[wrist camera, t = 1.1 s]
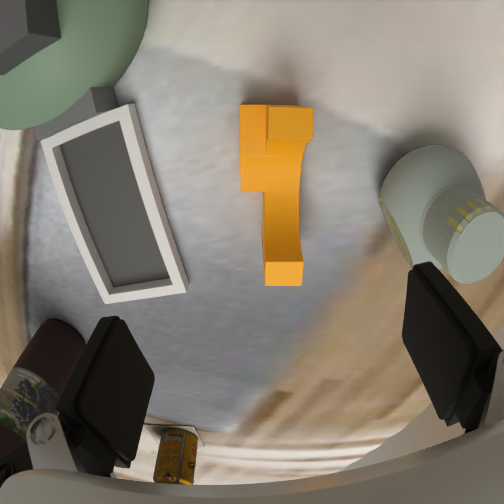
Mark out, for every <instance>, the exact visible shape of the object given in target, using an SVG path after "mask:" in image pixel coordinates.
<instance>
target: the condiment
mask: <svg viewBox="0 0 504 504" xmlns="http://www.w3.org/2000/svg"><path fill="white" fill-rule="evenodd" d="M144 426H145V427H146V429H147V430H148V431H149V432H150V434H151V435H152V436H153V438H154V439H155V441H156V442H157V444H160V445H159V450H158V455H157V460H156V465H155V471H154V476H153V479H154V482H155V483H164V484H181V485H193V482H194V481H193V480H194V471H195V463H196V454H197V446H203V447H204V445H203V443H202V441H201V439H200V437H199V435H198V433H197V432H196V430H195V428H194V427H189V426H161V425H144Z"/></svg>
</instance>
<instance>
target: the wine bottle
mask: <svg viewBox="0 0 504 504" xmlns="http://www.w3.org/2000/svg"><path fill="white" fill-rule="evenodd" d="M85 346H86V345H85V343H84V341H83V339H82V337H81V336H80V335H79V334H78V333H77V332H76V331H75V330H74V329H73V328H72V327H70V326H69V325H67V324H66V323H64V322H62V321H58V320H54V319H52V320H47V321H45V322H44V323H43V324H42V325H41V326H40V327H39V329H38V330H37V332H36V333H35V335H34V336H33V338H32V339H31V341H30V342H29V344H28V345H27V347H26V348H25V350H24V351H23V353H22V354H21V356H20V357H19V359H18V361H17V362H16V364H15V365H14V367H13V369H12V370H11V372H10V374H9V375H8V377H7V379H6V380H5V382H4V384H3V385H2V387H1V389H0V459H1V458H3V457H5V456H6V455H8V454H9V453H11V452H13V451H14V450H16V449H17V448H19V447H21V446H22V445H24V444H25V443H27V436H26V434H27V429H28V427H29V425H30V423H31V422H32V421H33V420H34V419H35V418H36V417H37V416H39V415H41V414H43V413H52V414H55V415H56V416H58V413H59V412H58V411H57V410H56V409H55V408H56V405H57V403H58V401H59V399H60V397H61V395H62V392H63V390H64V388H65V386H66V384H67V382H68V380H69V378H70V376H71V374H72V372H73V370H74V368H75V366H76V364H77V362H78V360H79V358H80V356H81V354H82V352H83V350H84V348H85Z"/></svg>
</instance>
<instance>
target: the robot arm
mask: <svg viewBox="0 0 504 504" xmlns="http://www.w3.org/2000/svg"><path fill="white" fill-rule="evenodd" d="M402 338H403V342H404V344H405V346H406V348H407V350H408V352H409V354H410V356H411V358H412V361H413V363H414V365H415V367H416V369H417V371H418V373H419V375H420V377H421V379H422V381H423V384H424V386H425V388H426V390H427V392H428V395H429V397H430V399H431V401H432V403H433V406H434V408H435V410H436V413H437V415H438V417H439V418H440V419H441V420H443V419H444V420H445V422H446V425H447V427H448V426H450V425H453V424H455V423H458V422H460V424H461V426H462V428H463V431H462V434H461V436H458V437H456V438H454V439H451V440H448V441H446V442H443V443H440V444H438V445H435V446H432V447H429V448H426V449H423V450H420V451H417V452H414V453H411V454H408V455H405V456H402V457H399V458H395V459H392V460H388V461H385V462H381V463H377V464H373V465H370V466H366V467H361V468H357V469H353V470H348V471H344V472H339V473H333V474H328V475H322V476H316V477H310V478H303V479H296V480H288V481H279V482H269V483H256V484H239V485H181V484H164V483H151V482H141V481H133V480H125V479H118V478H117V477H116V475H115V473H114V472H113V469H114V465H115V466H116V467H122V468H130V464H131V461H133V460H134V459H135V457H136V453H137V449H138V444H139V440H140V436H141V432H142V428H143V424H144V420H145V416H146V412H147V408H148V404H149V400H150V396H151V393H152V389H153V385H154V381H155V378H154V373H153V371H152V369H151V368H150V366H149V364H148V363H147V361H146V359H145V357H144V356H143V354H142V352H141V350H140V349H139V347H138V345H137V343H136V341H135V340H134V338H133V336H132V334H131V332H130V330H129V329H128V327H127V325H126V323H125V321H124V320H122V319H120V318H119V317H118V316H110V317H103V318H101V319H100V320H99V322H98V324H97V326H96V328H95V329H94V331H93V333H92V335H91V337H90V339H89V341H88V342H87V344H86V346H85V348H84V350H83V352H82V354H81V356H80V358H79V360H78V362H77V364H76V366H75V368H74V370H73V372H72V374H71V376H70V378H69V380H68V382H67V384H66V386H65V388H64V390H63V392H62V395H61V397H60V399H59V401H58V403H57V405H56V408H55V409H56V410H57V411H58V412H59V414H58V417H57V416H56V415H55V414H52V413H43V414H41V415H39V416H37V417H36V418H35V419H34V420H33V421H32V422H31V423H30V425H29V427H28V429H27V434H26V436H27V443H25V444H24V445H22V446H21V447H19V448H17V449H16V450H14V451H13V452H11V453H9V454H8V455H6V456H5V457H3V458H1V459H0V504H504V350H502V349H501V348H500V346H499V345H498V343H497V342H496V340H495V339H494V338H493V336H492V335H491V334H490V332H489V331H488V329H487V328H486V327H485V326H484V324H483V323H482V322H481V320H480V319H479V318H478V316H477V315H476V314H475V313H474V311H473V310H472V309H471V308H470V306H469V305H468V304H467V303H466V301H465V300H464V299H463V298H462V296H461V295H460V294H459V293H458V292H457V290H456V289H455V288H454V287H453V286H452V285H451V283H450V282H449V281H448V280H447V279H446V278H445V276H444V275H443V274H442V273H441V272H440V271H439V270H438V268H437V267H436V266H435V265H434V264H433V263H432V262H430V261H428V262H424V263H420V264H415V265H414V266H413V269H412V270H410V271H409V273H408V282H407V294H406V304H405V313H404V321H403V329H402Z"/></svg>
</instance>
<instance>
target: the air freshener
mask: <svg viewBox="0 0 504 504" xmlns="http://www.w3.org/2000/svg"><path fill="white" fill-rule="evenodd" d="M378 202H379V205H380V208H381V211H382V213H383V215H384V218H385V220H386V222H387V224H388V226H389V229H390V231H391V233H392V235H393V237H394V239H395V241H396V243H397V245H398V247H399V248H400V250H401V252H402V254H403V256H404V258H405V259H406V261H407V262H408V264H409V265H410V266H411V268H413V266H414V265H415V264H420V263H424V262H428V261H430V262H432V263H433V264H434V265H435V266H436V267H437V268H438V269H441V268H444V269H445V270H446V271H447V272H448V273H449V274H450V275H451V276H452V278H454V279H455V280H456V281H458V282H459V283H463V284H469V283H474V282H477V281H480V280H482V279H484V278H486V277H487V276H488V275H490V274H491V273H492V272H493V271H494V270H495V269H496V267H497V266H498V265H499V263H500V262H501V260H502V258H503V256H504V213H503V212H502V211H501V210H500V209H498V208H497V207H495V206H494V205H492V204H491V203H489V202H488V201H486V199H485V194H484V191H483V187H482V185H481V182H480V179H479V177H478V175H477V173H476V171H475V169H474V167H473V166H472V164H471V162H470V161H469V159H468V158H467V157H466V156H465V155H464V154H463V153H462V152H460V151H459V150H457V149H455V148H452V147H449V146H445V145H428V146H423V147H420V148H417V149H415V150H413V151H411V152H409V153H408V154H406V155H405V156H403V157H402V158H401V159H400V160H399V161H398V162H397V163H396V164H395V165H394V166H393V167H392V169H391V170H390V171H389V173H388V175H387V176H386V178H385V180H384V182H383V184H382V187H381V189H380V193H379V196H378Z"/></svg>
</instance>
